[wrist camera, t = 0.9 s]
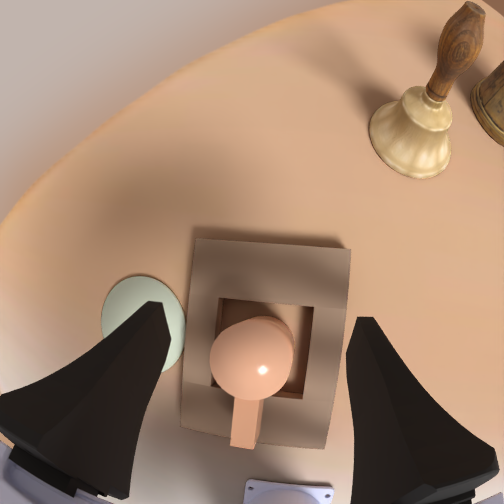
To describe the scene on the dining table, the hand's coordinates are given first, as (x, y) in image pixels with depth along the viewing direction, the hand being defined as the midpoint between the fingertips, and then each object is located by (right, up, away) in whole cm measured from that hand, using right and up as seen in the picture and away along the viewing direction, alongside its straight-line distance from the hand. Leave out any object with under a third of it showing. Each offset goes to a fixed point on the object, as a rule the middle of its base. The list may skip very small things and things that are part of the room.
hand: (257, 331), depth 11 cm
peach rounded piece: (+1, -7, +12) cm, 14 cm away
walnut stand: (+1, -5, +12) cm, 13 cm away
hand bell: (+14, +13, +13) cm, 23 cm away
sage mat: (-10, -4, +14) cm, 18 cm away
